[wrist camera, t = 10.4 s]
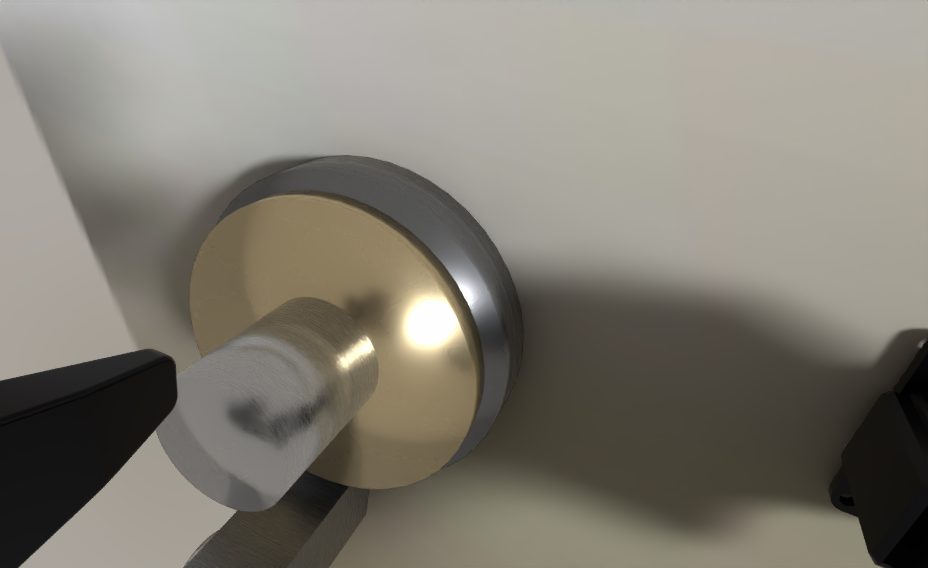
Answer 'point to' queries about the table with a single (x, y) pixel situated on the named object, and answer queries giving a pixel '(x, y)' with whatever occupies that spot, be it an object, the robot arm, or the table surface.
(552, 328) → the table surface
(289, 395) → the cylinder
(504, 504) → the table surface
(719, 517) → the table surface
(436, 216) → the base
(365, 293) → the pan
